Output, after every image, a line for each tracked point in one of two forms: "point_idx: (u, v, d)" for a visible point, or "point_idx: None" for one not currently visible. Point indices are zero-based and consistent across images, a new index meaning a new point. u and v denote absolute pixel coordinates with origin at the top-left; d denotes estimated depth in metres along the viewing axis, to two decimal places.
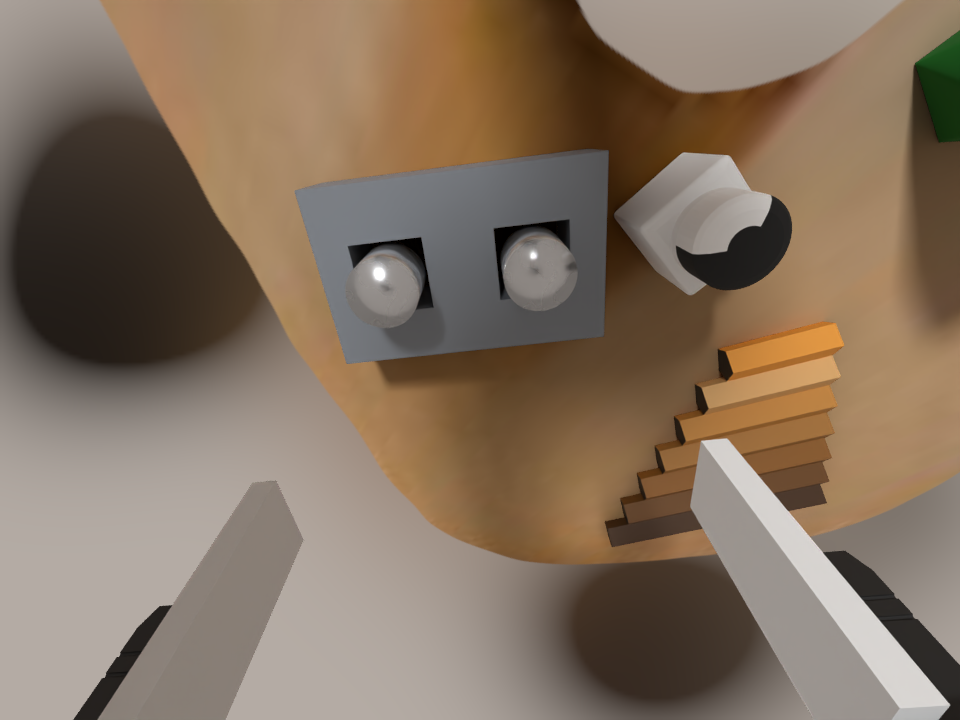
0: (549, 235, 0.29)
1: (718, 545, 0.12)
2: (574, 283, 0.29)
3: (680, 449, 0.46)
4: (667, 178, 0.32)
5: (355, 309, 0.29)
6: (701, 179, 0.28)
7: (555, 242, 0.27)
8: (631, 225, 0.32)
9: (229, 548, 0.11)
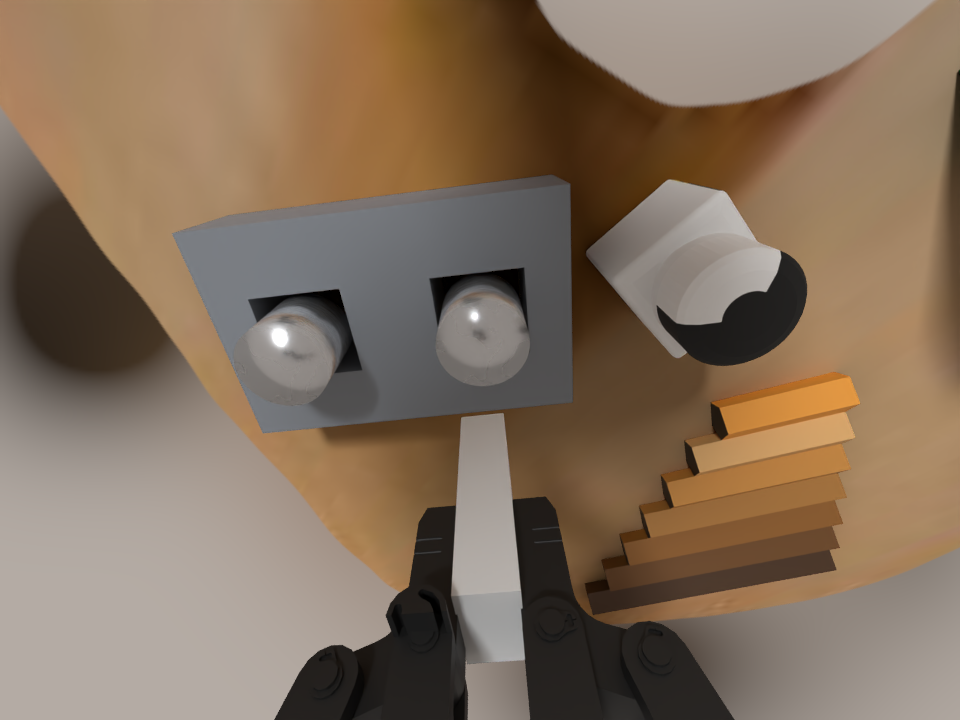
0: (494, 292, 0.22)
1: None
2: (526, 354, 0.22)
3: (667, 513, 0.40)
4: (649, 213, 0.26)
5: (249, 384, 0.23)
6: (689, 221, 0.22)
7: (499, 305, 0.21)
8: (603, 272, 0.25)
9: (476, 462, 0.13)
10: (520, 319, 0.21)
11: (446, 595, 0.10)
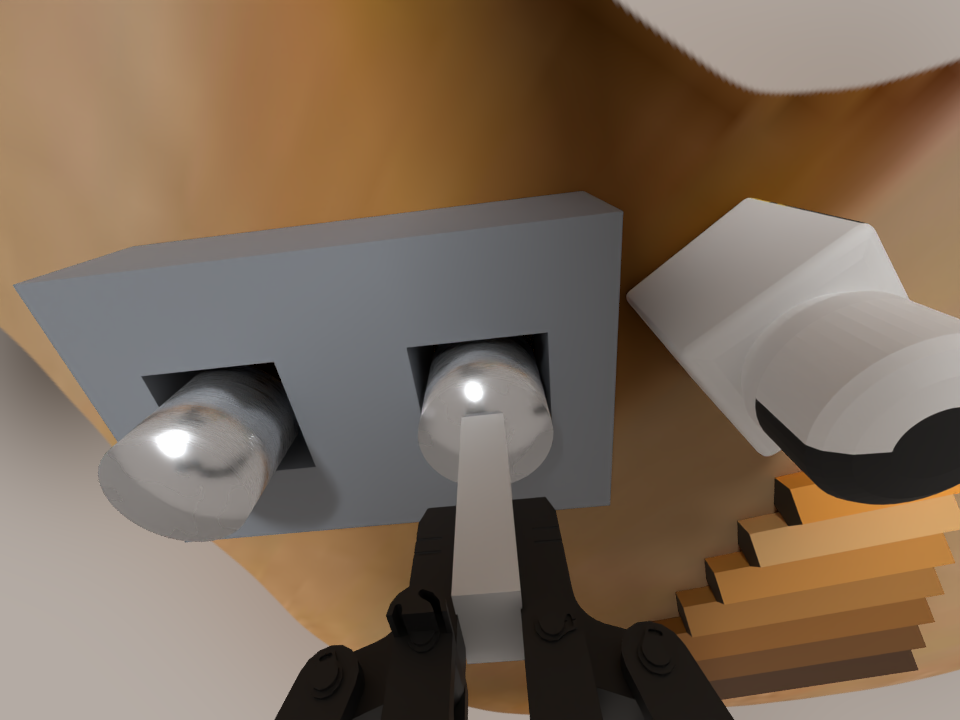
0: (502, 359, 0.16)
1: None
2: (548, 447, 0.16)
3: (713, 606, 0.32)
4: (725, 247, 0.18)
5: (131, 515, 0.15)
6: (810, 270, 0.14)
7: (509, 385, 0.14)
8: (661, 335, 0.17)
9: (477, 462, 0.13)
10: (540, 403, 0.15)
11: (446, 595, 0.10)
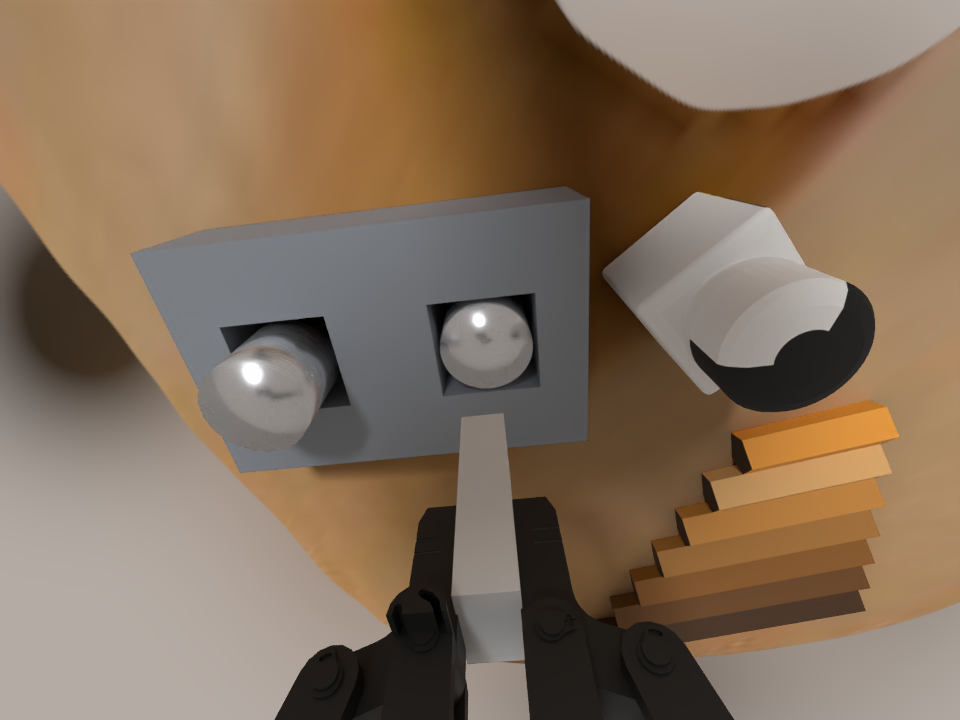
0: None
1: None
2: (529, 356, 0.23)
3: (682, 551, 0.37)
4: (676, 230, 0.23)
5: (218, 428, 0.20)
6: (728, 242, 0.19)
7: (502, 308, 0.21)
8: (625, 298, 0.22)
9: (476, 462, 0.13)
10: (523, 322, 0.22)
11: (446, 595, 0.10)
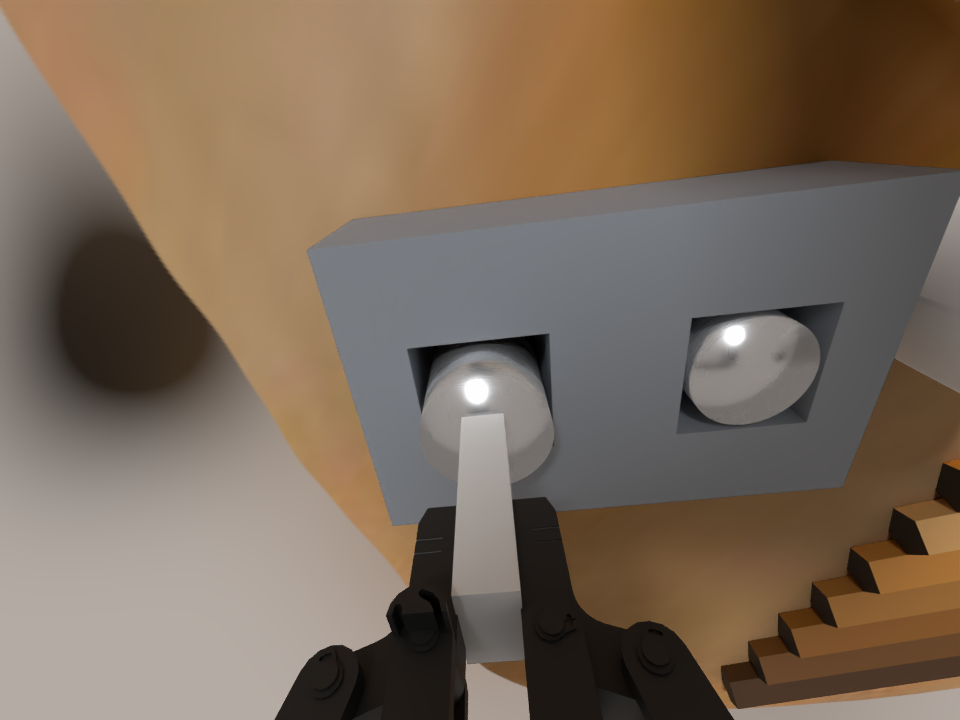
0: None
1: None
2: (808, 385, 0.17)
3: (859, 597, 0.31)
4: None
5: (434, 459, 0.16)
6: None
7: (794, 323, 0.16)
8: (941, 307, 0.17)
9: (477, 462, 0.13)
10: (815, 341, 0.16)
11: (446, 595, 0.10)
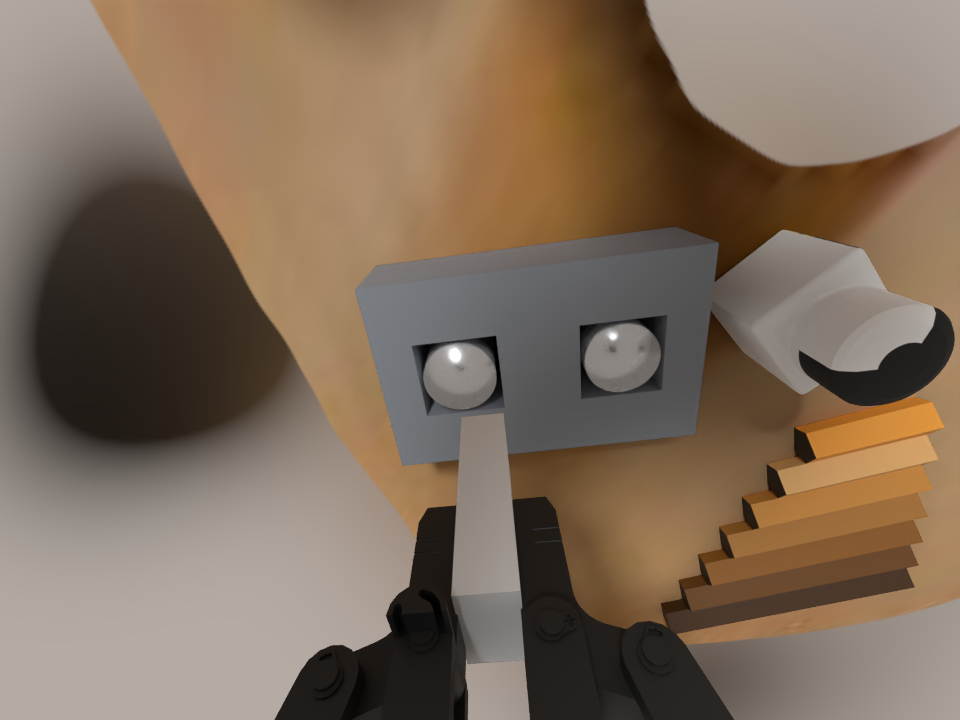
0: None
1: None
2: (656, 365, 0.28)
3: (750, 534, 0.41)
4: (772, 262, 0.28)
5: (431, 392, 0.29)
6: (828, 274, 0.24)
7: (640, 327, 0.27)
8: (734, 317, 0.28)
9: (477, 462, 0.13)
10: (655, 338, 0.27)
11: (446, 595, 0.10)
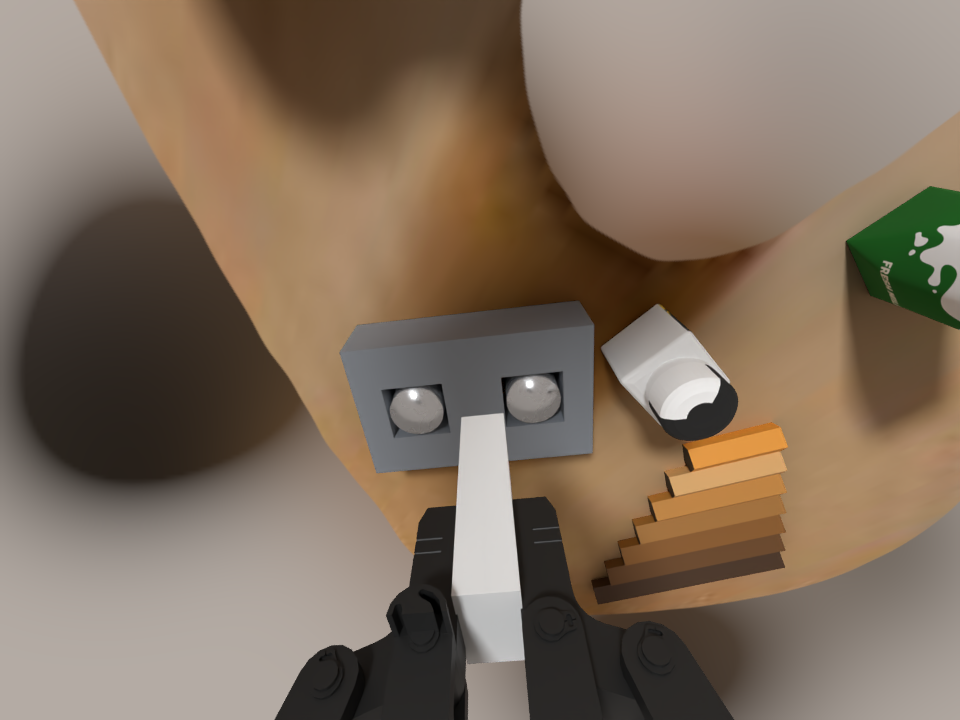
0: None
1: None
2: (558, 405, 0.39)
3: (653, 525, 0.53)
4: (644, 330, 0.39)
5: (396, 421, 0.40)
6: (669, 348, 0.35)
7: (544, 379, 0.38)
8: (614, 371, 0.38)
9: (476, 462, 0.13)
10: (555, 386, 0.38)
11: (446, 595, 0.10)
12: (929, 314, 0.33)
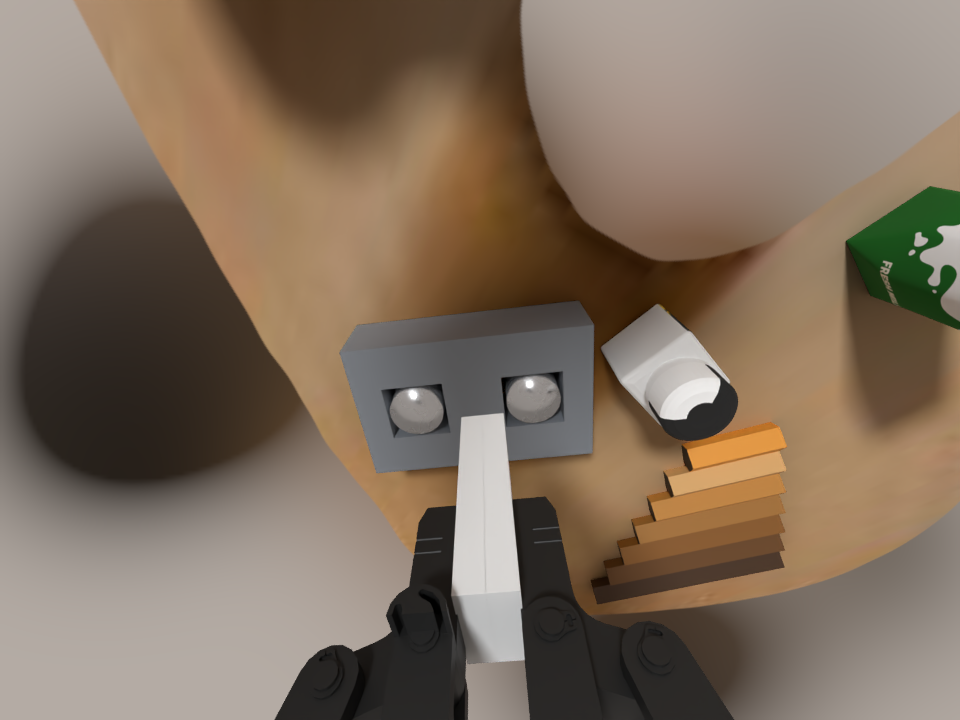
0: None
1: None
2: (558, 405, 0.39)
3: (652, 525, 0.53)
4: (644, 330, 0.39)
5: (396, 421, 0.40)
6: (669, 348, 0.35)
7: (544, 379, 0.38)
8: (614, 371, 0.38)
9: (476, 462, 0.13)
10: (555, 386, 0.38)
11: (446, 595, 0.10)
12: (929, 314, 0.33)
